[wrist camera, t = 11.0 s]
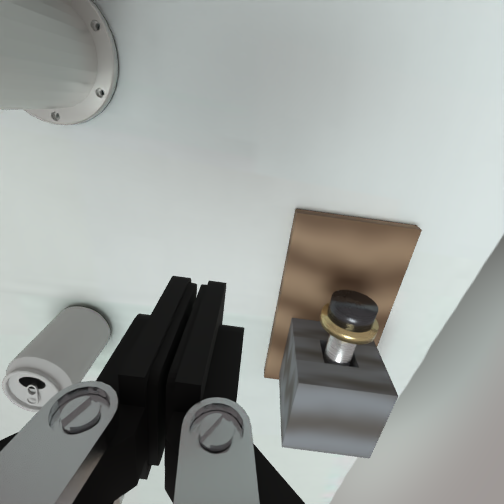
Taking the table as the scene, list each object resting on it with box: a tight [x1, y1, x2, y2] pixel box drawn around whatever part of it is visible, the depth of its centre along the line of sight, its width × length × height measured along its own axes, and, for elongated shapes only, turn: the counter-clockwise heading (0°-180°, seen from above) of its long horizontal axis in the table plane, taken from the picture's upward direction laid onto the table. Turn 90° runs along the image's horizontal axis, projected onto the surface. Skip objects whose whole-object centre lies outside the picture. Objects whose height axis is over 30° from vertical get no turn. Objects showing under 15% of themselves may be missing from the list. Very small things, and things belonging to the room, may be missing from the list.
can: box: [2, 306, 111, 412], centre depth 40 cm, size 8×8×12 cm
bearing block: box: [264, 209, 422, 458], centre depth 36 cm, size 25×14×12 cm, turn 173°
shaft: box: [320, 290, 379, 366], centre depth 37 cm, size 19×6×6 cm, turn 173°
